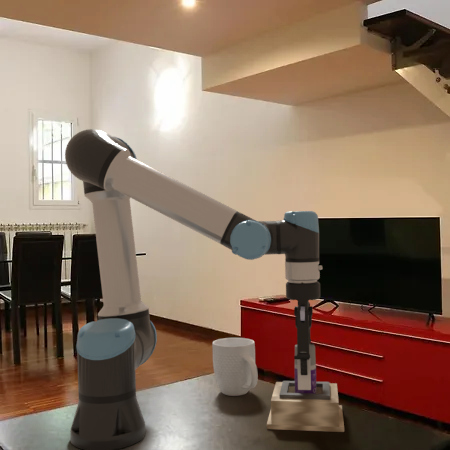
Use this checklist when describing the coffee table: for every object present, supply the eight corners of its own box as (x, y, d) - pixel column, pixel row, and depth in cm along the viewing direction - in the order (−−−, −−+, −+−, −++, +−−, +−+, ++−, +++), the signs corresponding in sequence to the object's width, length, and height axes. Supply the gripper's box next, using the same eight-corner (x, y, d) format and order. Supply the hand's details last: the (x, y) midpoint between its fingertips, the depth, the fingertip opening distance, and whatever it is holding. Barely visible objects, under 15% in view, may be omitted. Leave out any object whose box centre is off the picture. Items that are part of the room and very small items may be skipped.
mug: (274, 397, 139) (272, 344, 139) (237, 406, 133) (236, 351, 133) (239, 383, 151) (238, 335, 151) (205, 391, 145) (204, 341, 145)
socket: (266, 428, 117) (266, 396, 117) (272, 407, 131) (271, 378, 131) (344, 432, 114) (343, 399, 114) (341, 409, 128) (341, 380, 128)
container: (318, 417, 120) (317, 347, 121) (296, 417, 120) (295, 347, 121) (314, 410, 125) (314, 343, 125) (293, 410, 125) (293, 343, 125)
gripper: (319, 286, 112) (322, 398, 111) (320, 276, 133) (322, 370, 133) (282, 286, 113) (284, 397, 113) (288, 276, 134) (290, 369, 134)
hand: (305, 382), depth 123 cm, fingers open, 9 cm apart
